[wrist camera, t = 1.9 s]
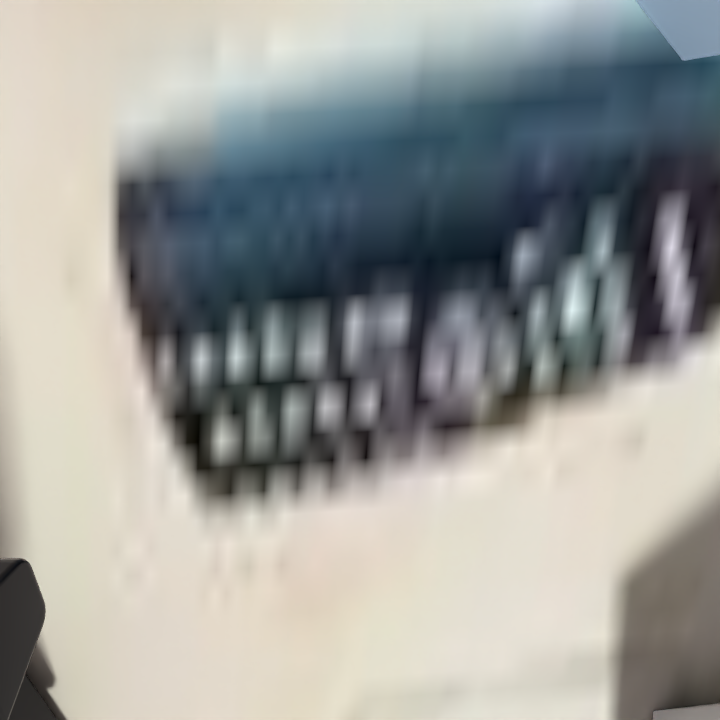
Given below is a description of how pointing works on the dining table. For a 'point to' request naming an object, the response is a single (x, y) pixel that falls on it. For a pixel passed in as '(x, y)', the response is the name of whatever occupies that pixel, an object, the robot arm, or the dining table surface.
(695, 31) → the large blue square block
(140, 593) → the dining table surface
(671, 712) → the die
